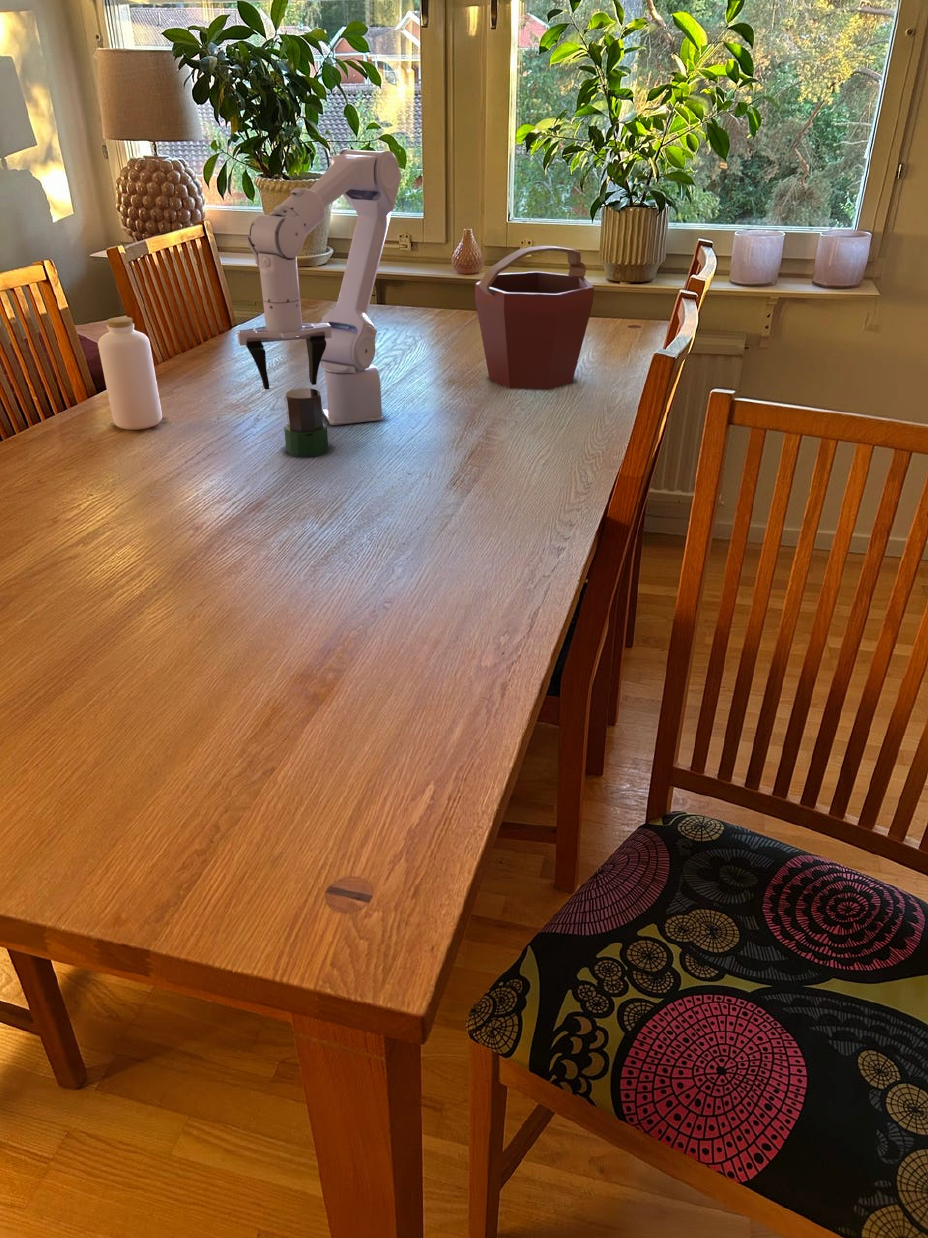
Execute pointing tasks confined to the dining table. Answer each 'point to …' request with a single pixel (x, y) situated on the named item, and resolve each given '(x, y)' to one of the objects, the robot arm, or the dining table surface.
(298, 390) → the faceted brown jar
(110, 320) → the potion bottle
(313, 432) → the bottle
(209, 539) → the dining table surface
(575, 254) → the bucket
